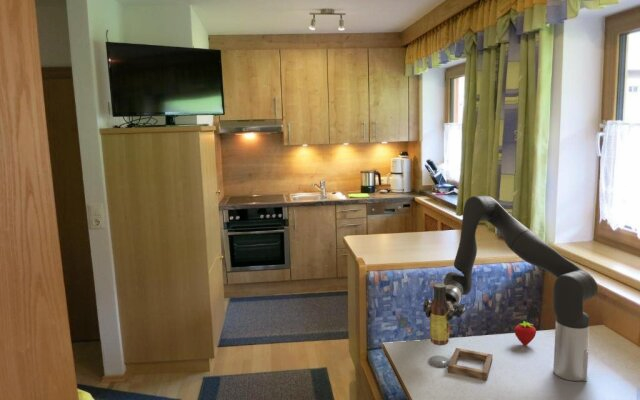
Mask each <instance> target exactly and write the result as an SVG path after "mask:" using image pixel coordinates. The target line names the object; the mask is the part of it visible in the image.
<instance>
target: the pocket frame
mask: <svg viewBox="0 0 640 400" xmlns="http://www.w3.org/2000/svg"><path fill="white" fill-rule="evenodd" d="M460 359H466V360H471V361H477V362H481V363H482V362H483V363H484V365H483V368H482V369H479V368H475V367H469V366H465V365H459V364H458V362H459V360H460ZM449 360H450V362H449V365H448V367H447V373H448V374H453V375H457V376H462V377H468V378H473V379H477V380H483V381H488V378H489V375H490V371H491V369H492V364H493V354H490V353H485V352H480V351H475V350H469V349H464V348H460V347H459V348H457V347H455V349H454V352H453V353H452V356H451V358H450V359H449Z"/></svg>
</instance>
